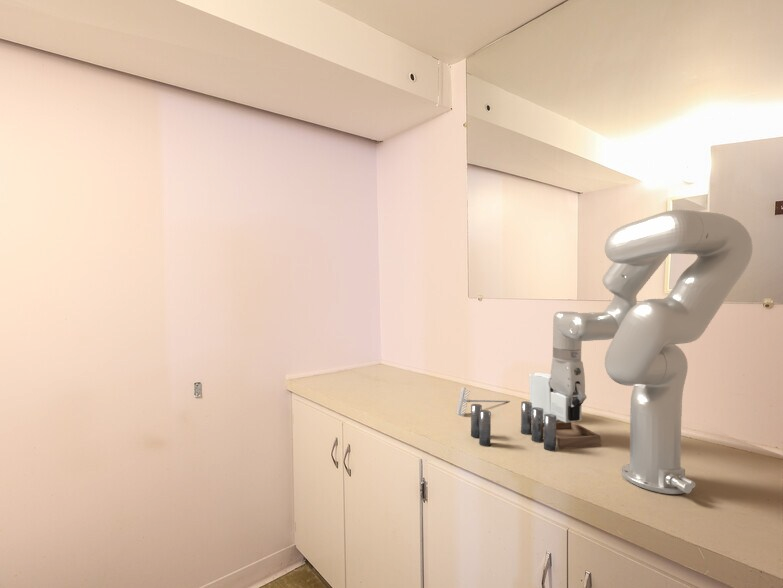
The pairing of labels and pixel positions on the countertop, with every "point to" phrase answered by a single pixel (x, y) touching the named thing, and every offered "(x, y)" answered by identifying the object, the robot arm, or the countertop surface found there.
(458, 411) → the brush
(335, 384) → the countertop surface
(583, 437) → the walnut tray
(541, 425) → the posts
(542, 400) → the skincare box
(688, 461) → the countertop surface
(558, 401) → the skincare box
